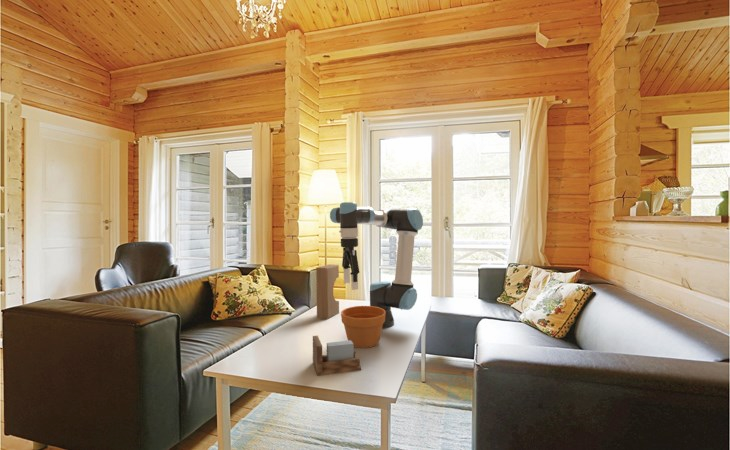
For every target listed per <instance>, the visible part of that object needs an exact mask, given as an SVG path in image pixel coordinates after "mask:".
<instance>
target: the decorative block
mask: <svg viewBox="0 0 730 450" xmlns="http://www.w3.org/2000/svg"><path fill="white" fill-rule="evenodd" d="M339 269H340V266H339V264H326V265H321V266H317V267H316V268H315V270H316V275H315V276H316V319H319V318H320V319H321V320H328V319H330V318H332V317H334V316H336V315H338V314H339V313H340V301H339V300H336V298H335V296H334V287H335V283H336V280H337V279H338V278H340V277H339V276H340V274H339V271H340V270H339Z"/></svg>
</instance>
